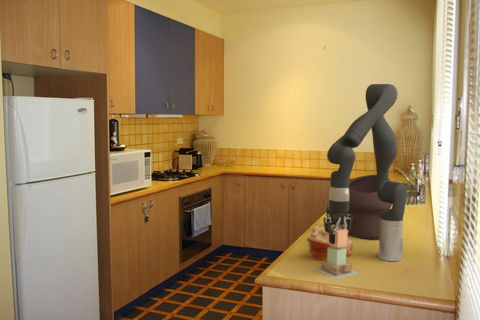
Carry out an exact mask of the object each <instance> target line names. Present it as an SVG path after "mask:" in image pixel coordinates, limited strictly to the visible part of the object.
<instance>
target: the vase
mask: <svg viewBox="0 0 480 320" xmlns="http://www.w3.org/2000/svg"><path fill="white" fill-rule="evenodd" d="M389 181H391V180H390V179H389ZM349 191H350V198H349V211H348V212H347V213H348V214H350V215H353V220H352V225H351V229H350V230H349V232H348V236H349V235H350V236H352V237H355V238H360V239H365V240H379V234H380V214H381V212H382V211H384V210H389V209H391V208H392V205H393V203H387V202H382V201H380V200H379V198H378V194H377V174H366V175H362V176H358V177H355V178H352V179H350V180H349ZM347 226H348V225H347Z"/></svg>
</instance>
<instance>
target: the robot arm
mask: <svg viewBox="0 0 480 320" xmlns="http://www.w3.org/2000/svg"><path fill="white" fill-rule="evenodd" d="M397 99H398V90H397V88H396V86H395V85H394V84H391V83H372V84H370V85H368V86H367V88H366V89H365V103H366V107H367V111H366V112H365V113H363V114H362V115H360V116H358V118H356V119H355V120H354V121H352V123H350V125H349V127H348V128H347V130H346V131H345V133H344V134H343V135H342V136H340V137H339V138H338V139H337V140H336V141H335V142H334V143H332V144H331V146H330V147H329V149H328V151H327V154H326V156H327V157H326V158H327V161H328V162H330V163H331V164H333V165H338V166H339V167H338V168H337V170H334V171H332V172H331V174H330V181H329V183H330V184H329V185H330V187H329V192H328V193H329V194H328V206H329V210H330V215H329V217H323V219H322V220H323V228H325V232H327V233H329V242H330V243H331V244H335V232H336V229H338V226H340V228H342V229H345V230H347V231H348V230H350V229H351V225H352V220H353V215H350V214H348V213H347V212H348V211H349V198H350V191H349V181H350V180H351V178H350V177H351V174H352V171H353V167H354V164H355V160H356V153H355V151H354V149H355V148H358V147H359V146H360V145H361V144H362V142H363V140H364V139H365V137H366V136H367V135H368V133H369V132H370V131H371V133H372V134H371V135H372V145H373V152H374V160H375V168H376V169H375V170H376V175H377V194H378V198H379V200H380V201H382V202H387V203H392V206H391V208H390V209H389V210H384V211H382V212H381V214H380V234H379V239H378V255H377V256H378V259H380V260H382V261H387V262H400V261H401V259H403V250H404V236H403V226H404V225H403V224H404V215H405V210H406V200H407V187H406V184H405V183H403V182H398V181H391V180H390V178H389V171H390V168H391V166H392V164H393V163H394V161H395V159H396V158H397V154H398V144H397V143H398V141H397V135H396V133H395V132H394V130H393V129H392V128H391V125H390V124H389V123H388V121H387V120H386V117H385V114H386V113H387V112H388V111H389V110H390V109H391V108H392V107H393V106H394V105H395V103H396V102H397ZM389 180H390V181H389ZM333 225H335V226H333ZM347 225H348V226H347ZM332 229H333V231H332Z"/></svg>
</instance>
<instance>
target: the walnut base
mask: <svg viewBox="0 0 480 320" xmlns="http://www.w3.org/2000/svg"><path fill="white" fill-rule="evenodd" d="M320 268H321V270H323V271H325V272H328V273H330V274H332V275H335V276H339V275H343V274H347V273H351V271H352V269H353V268H352V263H351V264H350V263H348V262H346V264H345V265H341V266H337V267H336V266H334V265H331V264H329V263H327V261H322V262H321V267H320Z"/></svg>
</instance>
